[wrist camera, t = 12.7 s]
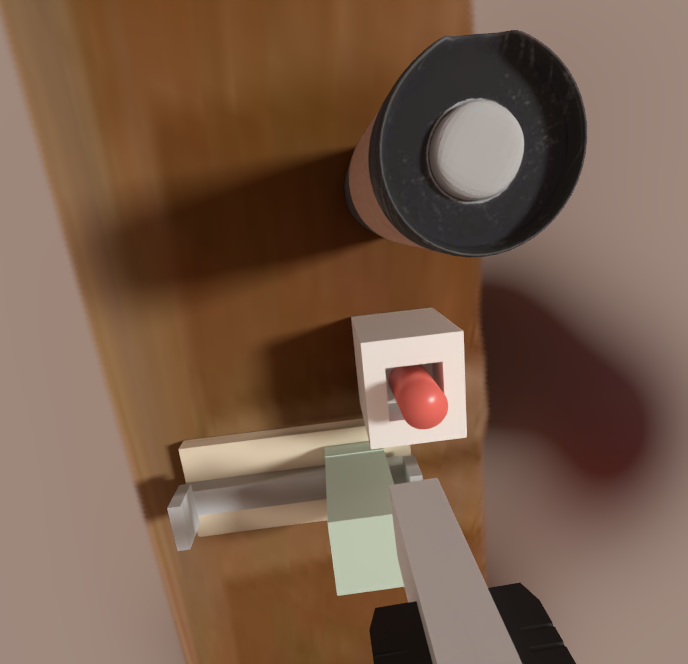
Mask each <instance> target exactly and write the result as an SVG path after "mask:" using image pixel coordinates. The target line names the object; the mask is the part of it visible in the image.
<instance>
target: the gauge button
mask: <svg viewBox="0 0 688 664" xmlns="http://www.w3.org/2000/svg"><path fill="white" fill-rule="evenodd" d="M389 386H390V388H391V390H392V393H393V395H394V397H395V399H396V402H397V404H398V406H399V408H400V411H401V413H402V415H403V417H404V419H405V421H406V422H407V423H408V424H409V425H410V426H412V427H414V428H417V429H430V428H433V427H435V426H437V425H438V424H440V423H441V422H442V421H443V419H444V418H445V416H446V414H447V411H448V401H447V398H446V396H445V395H444V393H443V392H442V390H441V389H440V388H439V386H438V385H437V384H436V382H435V381H434V380H433V378H432V377H431V376H430V374H429V373H428V371H427V370H426V369H425V367H424V366H423V365H421V364H418V365H410V366H402V367H394V368H393V370H392V371H391V373H390V376H389Z"/></svg>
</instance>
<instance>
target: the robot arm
mask: <svg viewBox="0 0 688 664" xmlns="http://www.w3.org/2000/svg"><path fill="white" fill-rule="evenodd" d="M389 491H390V499H391V508H392V516H393V525H394V533H395V541H396V550H397V558H398V562H399V566H400V570H401V574H402V578H403V583H404V587H405V591H406V595H407V599H408V603H403V604H397V605H391V606H385V607H379V608H375V611H374V615H373V619H372V623H371V626H370V638H371V645H372V653H373V660H374V664H576V663H575V661H574V659H573V658H572V656H571V654H570V653H569V651H568V649H567V647H565V646H564V643H563V640H562V639H561V637H560V635H559V634H558V632H557V630H556V628H555V627H554V626H553V624H552V621H551V620H550V618H549V616H548V614H547V613H546V611H545V609H544V607H543V606H542V604H541V602H540V600H539V599H537V598H536V597H535V596H534V595H533V594H532V593H531V592H530V591H529V590H528V589H526V588H525V587H524V586H523V585H522V584H521V583H515V584H509V585H504V586H497V587H491V588H487V585H486V583H485V581H484V579H483V577H482V574H481V572H480V570H479V568H478V566H477V564H476V561H475V559H474V557H473V555H472V553H471V550H470V548H469V546H468V544H467V542H466V539H465V537H464V535H463V533H462V531H461V529H460V526H459V524H458V522H457V520H456V518H455V515H454V513H453V511H452V509H451V507H450V504H449V502H448V500H447V498H446V496H445V493H444V491H443V489H442V487H441V485H440V483H439V480H438V478H433V479H426V480H420V481H414V482H407V483H401V484H395V485H389Z"/></svg>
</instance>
